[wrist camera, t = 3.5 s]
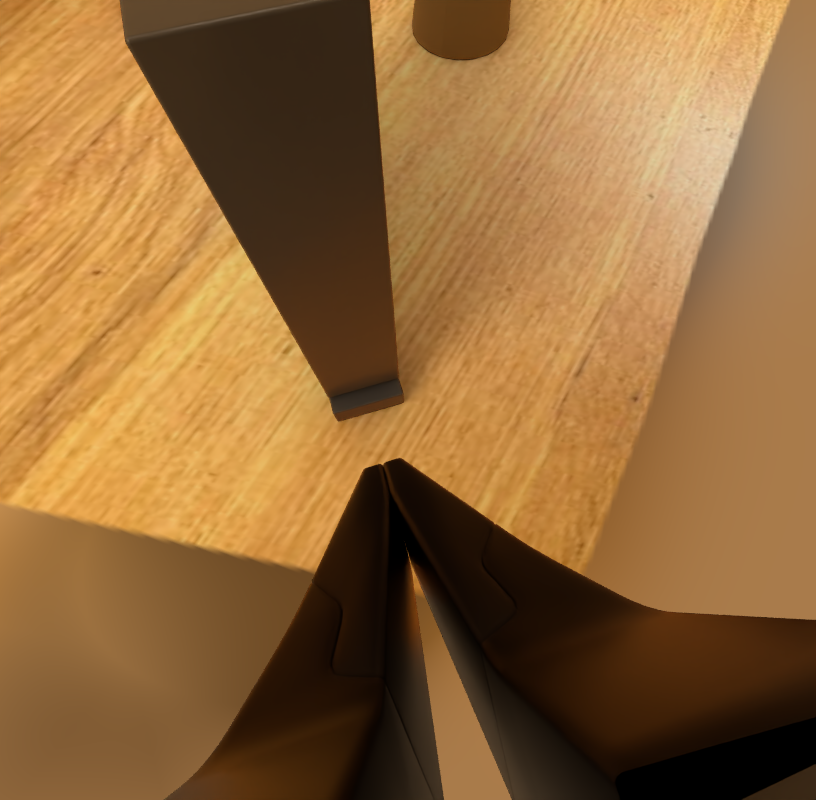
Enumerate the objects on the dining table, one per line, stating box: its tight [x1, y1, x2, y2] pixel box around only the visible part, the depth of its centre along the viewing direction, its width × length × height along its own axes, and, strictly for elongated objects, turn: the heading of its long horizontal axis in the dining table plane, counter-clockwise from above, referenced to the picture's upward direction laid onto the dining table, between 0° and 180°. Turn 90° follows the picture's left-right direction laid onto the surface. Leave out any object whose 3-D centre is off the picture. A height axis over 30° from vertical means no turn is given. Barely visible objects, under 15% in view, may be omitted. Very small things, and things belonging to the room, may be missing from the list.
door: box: [120, 0, 399, 398], centre depth 13 cm, size 10×3×13 cm, turn 17°
